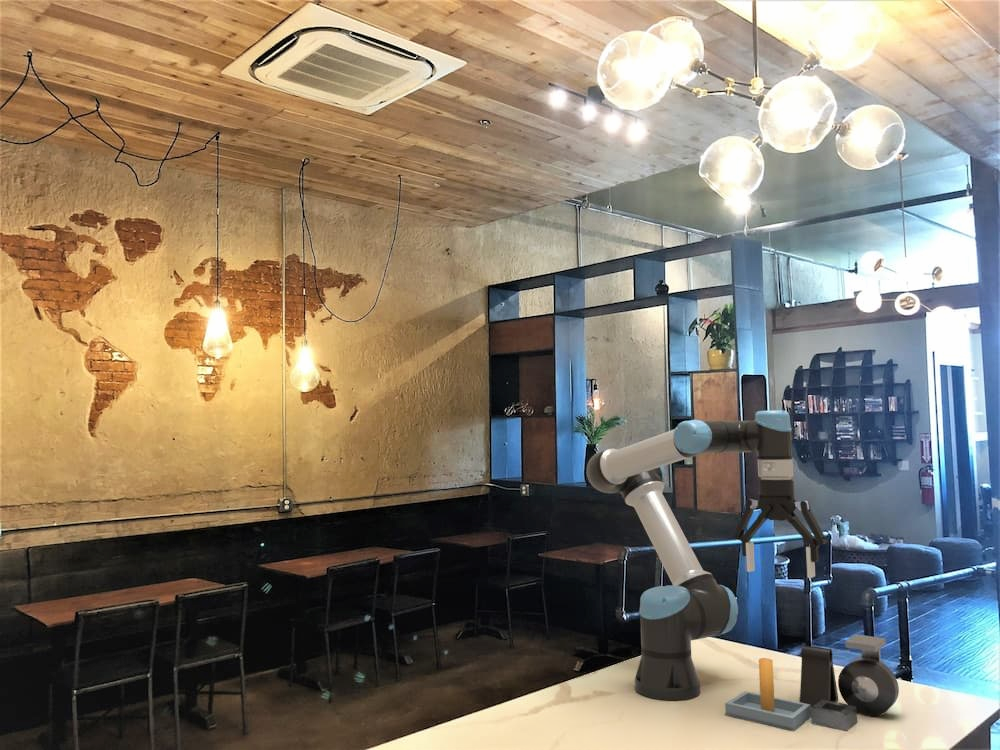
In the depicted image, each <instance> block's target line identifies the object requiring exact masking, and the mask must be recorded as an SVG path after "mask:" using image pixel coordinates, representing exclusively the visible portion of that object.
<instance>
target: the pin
mask: <svg viewBox="0 0 1000 750" xmlns="http://www.w3.org/2000/svg"><path fill="white" fill-rule="evenodd" d="M773 666H774V665H773V659H771V658H766V657H765V658H762V657H761V658H759V659H758V673H759V675H758V676H759V694H760V701H761V710H766V711H770V712H775V705H774V697H775V689H774V687H775V686H774V685H775V684H774V683H775V682H774V667H773Z"/></svg>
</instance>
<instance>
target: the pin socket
mask: <svg viewBox="0 0 1000 750" xmlns="http://www.w3.org/2000/svg"><path fill="white" fill-rule="evenodd" d="M810 721H811V722H810V723H811V724H813V725H818V726H822V727H828V728H831V729H835V730H840V731H845V732H848V731H849V730H851V728H852V727H853V726H854V725H855V724H857V722H858V712H857V706H852V705H848V704H847V703H842V702H838V701H837V702H832V701H827V700H821V701H819V702H818V703H817V704H815V705H814V706H813V707H811V717H810Z"/></svg>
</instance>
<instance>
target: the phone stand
mask: <svg viewBox="0 0 1000 750" xmlns="http://www.w3.org/2000/svg"><path fill="white" fill-rule="evenodd" d="M800 655H801V656H800V657H801V664H800V665H801V670H800V687H799V688H800V689H799V702H800V703H805V704H810V705H811V708H812V707H813V706H814V705H815V704H817V703H818V702H819V701H821V700H827V701H832V702H837V703H838V701H839V694H838V688H837V686H838V685H837V682H836V675H835V668H834V667H835V666H834V661H833V657H834V656H833V651H832V649H831V648H826V647H825V648H824V647H817V646H811V645H804V644H803V645H802V646H801V651H800Z"/></svg>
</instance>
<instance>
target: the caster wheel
mask: <svg viewBox="0 0 1000 750" xmlns="http://www.w3.org/2000/svg"><path fill="white" fill-rule="evenodd" d="M886 644H887V642H886V637H885V638H884V637H877V636H871V635H864V634H855V635H853V636H851V637H850V638H848V639H847V640H845V641H844V646H845V648H847V649H848V648H849V649H856V650H860V651H861V652H860V653H861V657H858V658H855V659H854V660H852V661H851V662H849V663H848V664H847V665H845V666H844V667H843V668H842V669H841V671H840V673H839V676H838V678H837V679H838V680H837V686H838V690H839V694H840V696H841V697H842V699H843V700H844V702H845V704H847V705H852V706H857V714H858V713H859V714H860V715H863V716H868V717H879V716H881V715H883V714H885V713H886V712H887V711H888V710H889V709H890V708H891V707H892V706H894V704H895V703H896V701H897V700H898V698H899V694H900V693H899V692H900V690H899V689H900V688H899V687H900V686H899V683H898V680H897V678H896V676H895V674H894V672H893V671H892V670H891V668H889V667H888V666H887V664H885V663H884V662H882V656H881V655H882V654H881V648H883V647H885V645H886Z"/></svg>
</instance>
